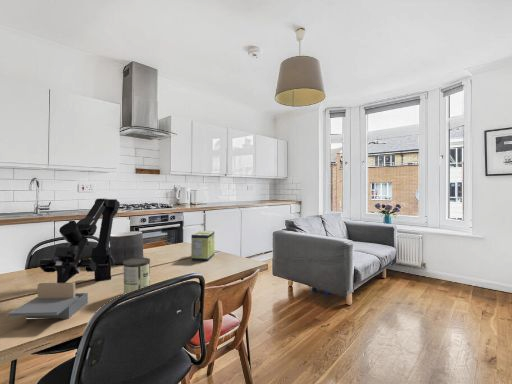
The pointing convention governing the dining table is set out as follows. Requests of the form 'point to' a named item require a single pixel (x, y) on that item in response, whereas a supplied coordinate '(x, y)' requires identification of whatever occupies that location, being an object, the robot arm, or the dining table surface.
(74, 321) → the dining table surface
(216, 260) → the dining table surface
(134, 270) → the coffee can
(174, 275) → the dining table surface
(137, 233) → the planter
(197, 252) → the protein box
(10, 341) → the dining table surface
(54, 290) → the lid
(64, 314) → the mailer box
